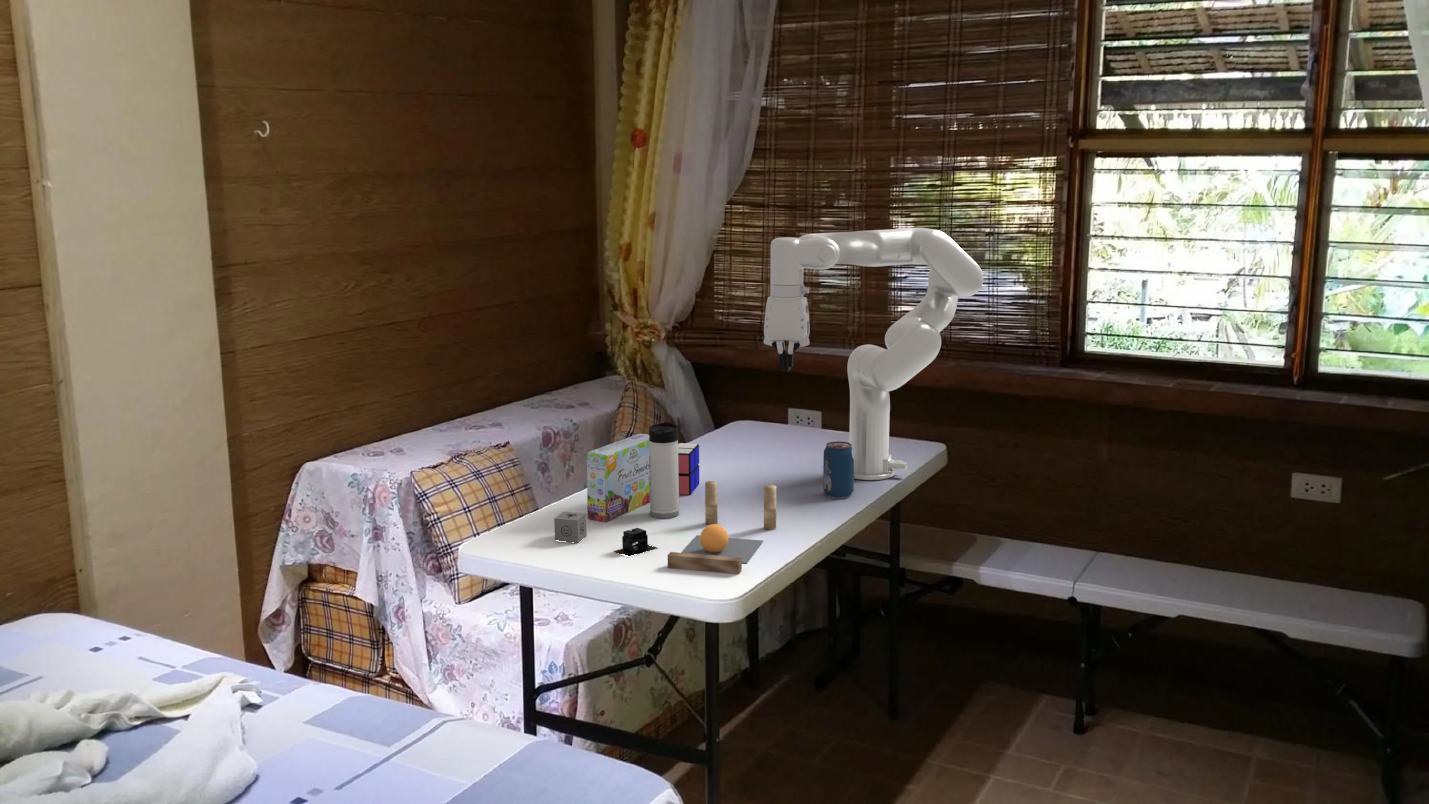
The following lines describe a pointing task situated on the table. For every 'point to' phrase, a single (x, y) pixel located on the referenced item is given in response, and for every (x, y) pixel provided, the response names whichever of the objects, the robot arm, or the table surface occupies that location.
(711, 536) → the ball
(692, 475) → the puzzle cube
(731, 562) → the stopper wall
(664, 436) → the travel mug
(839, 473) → the soda can
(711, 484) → the post far
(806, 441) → the table surface
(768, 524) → the post near
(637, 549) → the black boxy piece
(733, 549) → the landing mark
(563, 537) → the dice cube
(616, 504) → the snack box
